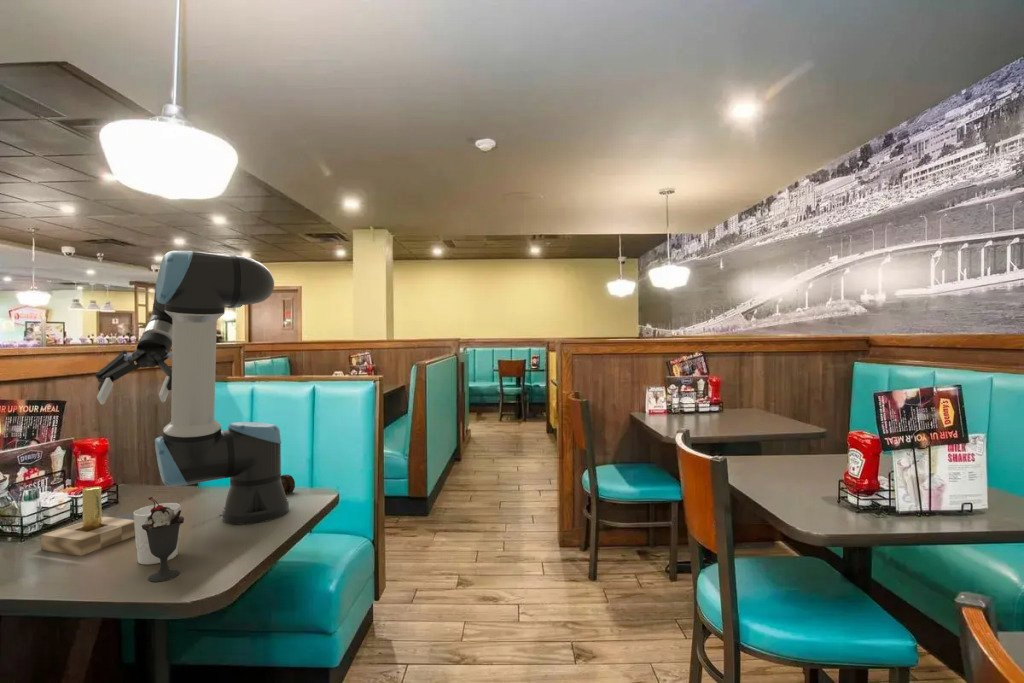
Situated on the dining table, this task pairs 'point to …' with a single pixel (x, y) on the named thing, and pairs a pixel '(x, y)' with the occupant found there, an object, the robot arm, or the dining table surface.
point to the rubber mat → (125, 516)
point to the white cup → (141, 534)
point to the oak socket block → (87, 536)
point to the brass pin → (92, 509)
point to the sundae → (163, 538)
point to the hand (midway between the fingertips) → (131, 400)
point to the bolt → (288, 483)
